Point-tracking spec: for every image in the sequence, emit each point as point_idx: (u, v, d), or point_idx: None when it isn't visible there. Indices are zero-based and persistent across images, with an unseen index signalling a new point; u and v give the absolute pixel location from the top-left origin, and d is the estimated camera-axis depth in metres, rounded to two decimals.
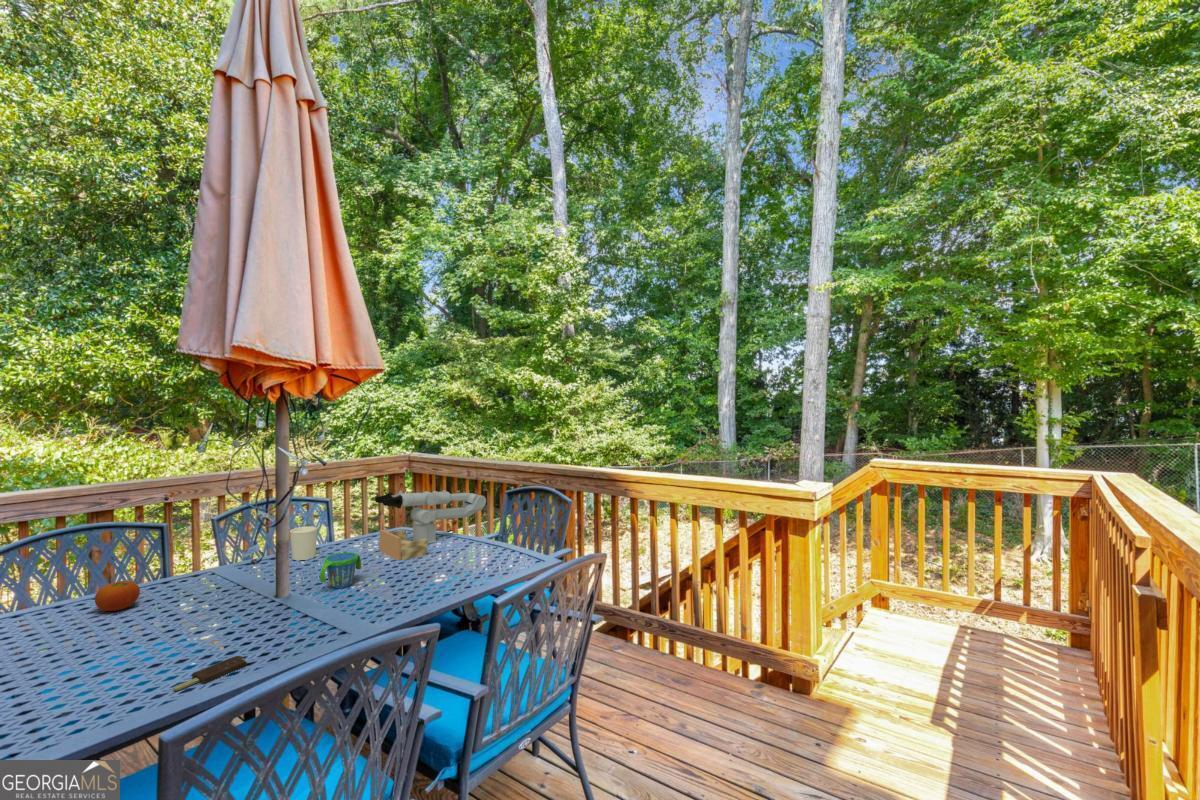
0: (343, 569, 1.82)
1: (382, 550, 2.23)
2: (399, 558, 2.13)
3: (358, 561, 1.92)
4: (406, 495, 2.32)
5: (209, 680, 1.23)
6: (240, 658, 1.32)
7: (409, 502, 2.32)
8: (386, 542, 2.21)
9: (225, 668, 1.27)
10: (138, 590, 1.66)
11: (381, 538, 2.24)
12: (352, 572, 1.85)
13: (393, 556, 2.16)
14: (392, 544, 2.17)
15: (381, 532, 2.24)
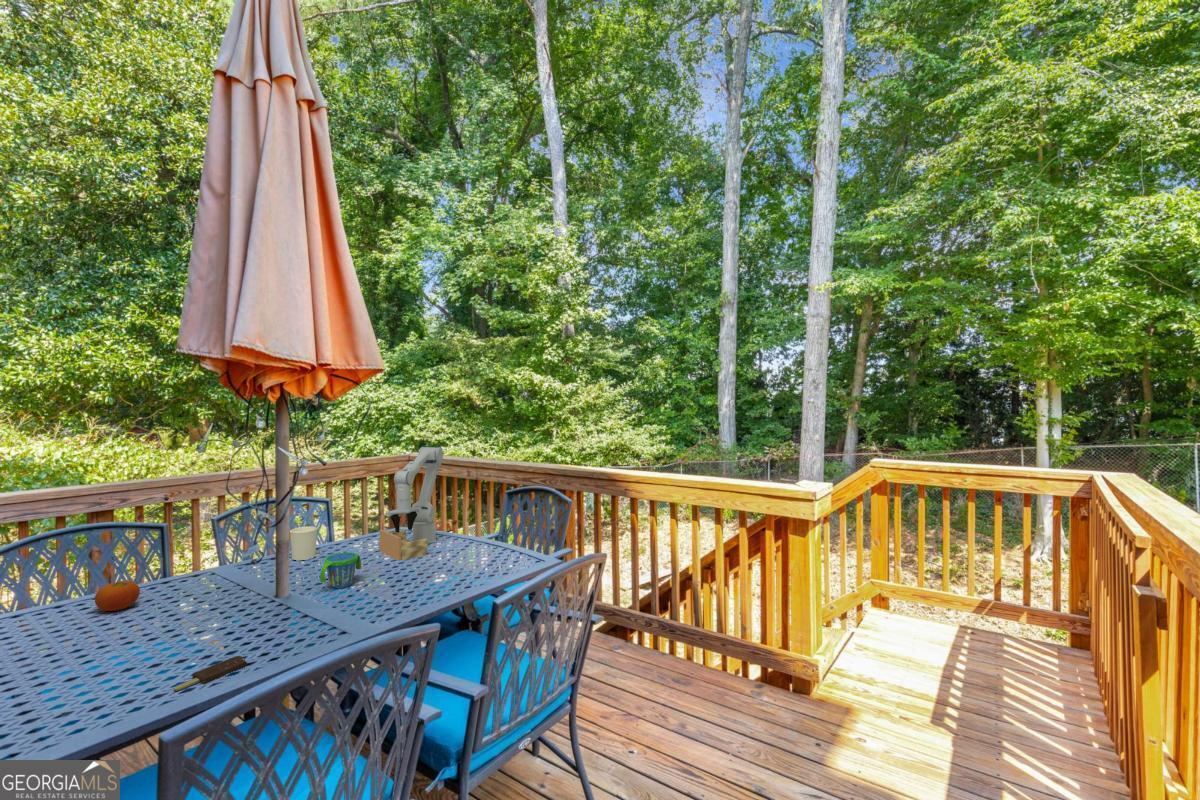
0: (343, 569, 1.82)
1: (382, 550, 2.23)
2: (399, 558, 2.13)
3: (358, 561, 1.92)
4: (410, 505, 2.23)
5: (209, 680, 1.23)
6: (240, 658, 1.32)
7: None
8: (386, 542, 2.21)
9: (225, 668, 1.27)
10: (138, 590, 1.66)
11: (381, 538, 2.24)
12: (352, 572, 1.85)
13: (393, 556, 2.16)
14: (392, 544, 2.17)
15: (381, 532, 2.24)
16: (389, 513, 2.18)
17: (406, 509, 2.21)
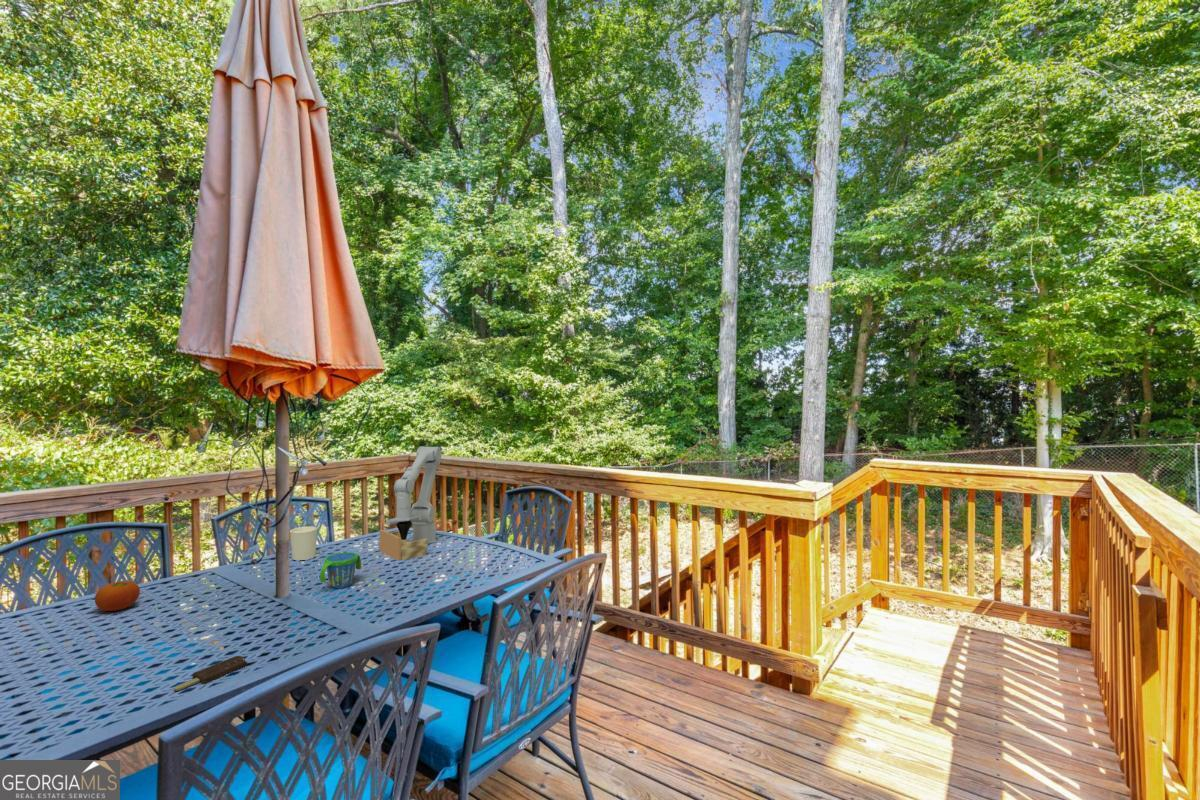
0: (343, 569, 1.82)
1: (382, 550, 2.23)
2: (399, 558, 2.13)
3: (358, 561, 1.92)
4: (410, 513, 2.23)
5: (209, 680, 1.23)
6: (240, 658, 1.32)
7: None
8: (386, 542, 2.21)
9: (225, 668, 1.27)
10: (138, 590, 1.66)
11: (381, 538, 2.24)
12: (352, 572, 1.85)
13: (393, 556, 2.16)
14: (392, 544, 2.17)
15: (381, 532, 2.24)
16: (389, 521, 2.18)
17: (406, 517, 2.22)
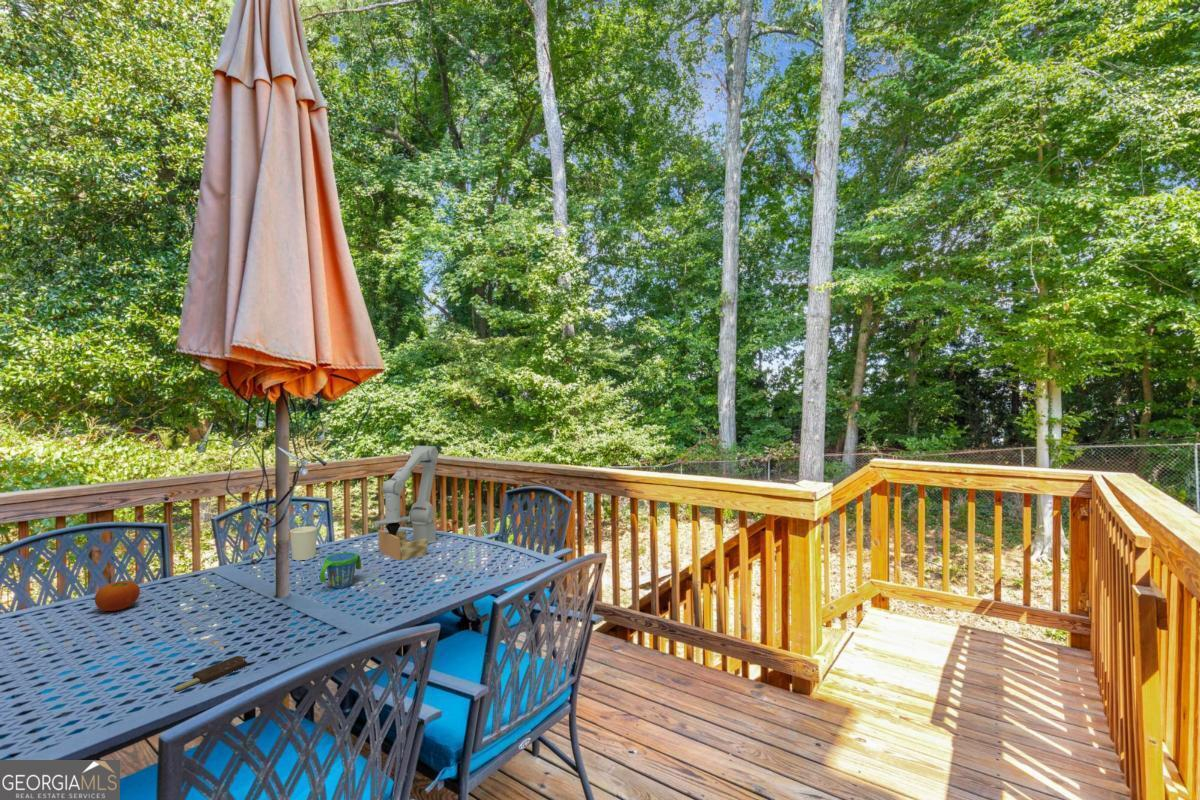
0: (343, 569, 1.82)
1: (382, 550, 2.23)
2: (399, 558, 2.13)
3: (358, 561, 1.92)
4: (399, 515, 2.20)
5: (210, 680, 1.23)
6: (240, 658, 1.32)
7: None
8: (385, 542, 2.20)
9: (226, 668, 1.27)
10: (138, 590, 1.66)
11: (380, 538, 2.24)
12: (352, 572, 1.85)
13: (393, 556, 2.16)
14: (391, 544, 2.16)
15: (380, 532, 2.24)
16: (377, 523, 2.15)
17: (395, 519, 2.18)
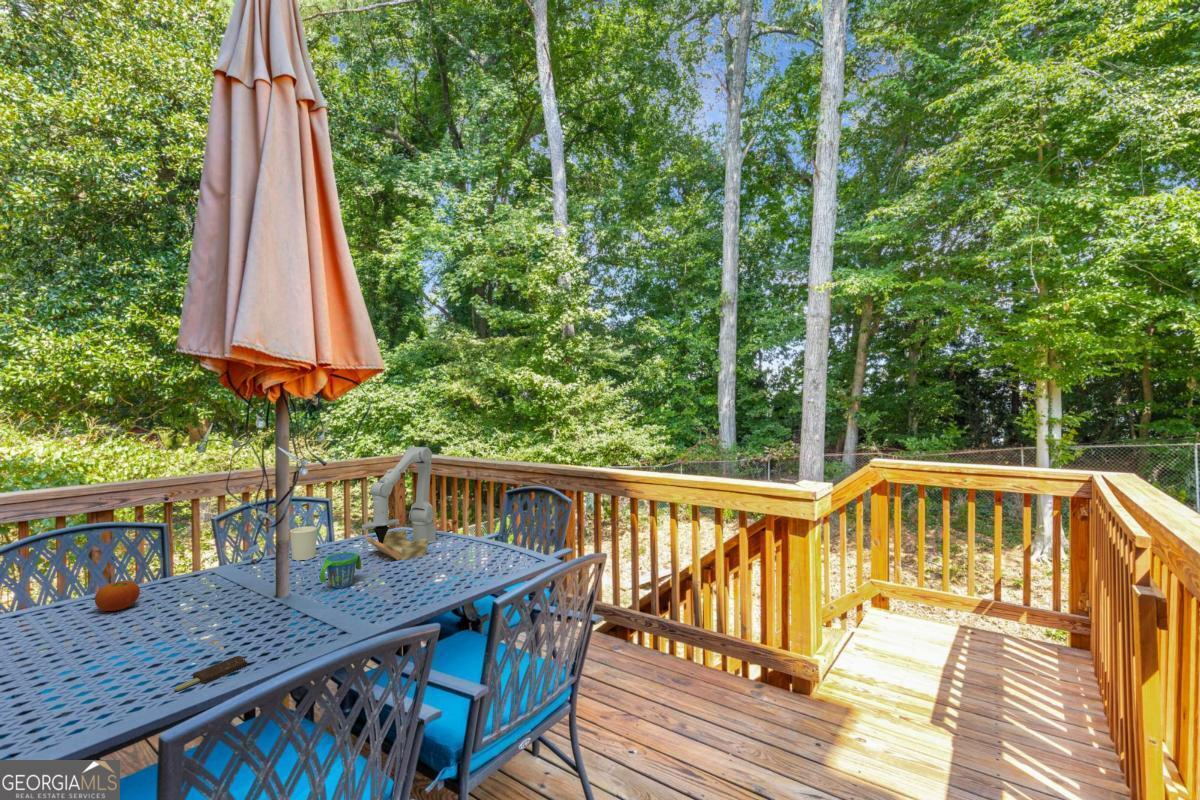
0: (343, 569, 1.82)
1: (381, 551, 2.23)
2: (398, 558, 2.13)
3: (358, 561, 1.92)
4: (387, 518, 2.16)
5: (210, 680, 1.23)
6: (241, 658, 1.32)
7: None
8: (378, 547, 2.18)
9: (226, 668, 1.27)
10: (138, 590, 1.66)
11: (372, 544, 2.21)
12: (352, 572, 1.85)
13: (392, 557, 2.16)
14: (383, 549, 2.14)
15: (367, 540, 2.20)
16: (365, 526, 2.11)
17: (383, 522, 2.15)
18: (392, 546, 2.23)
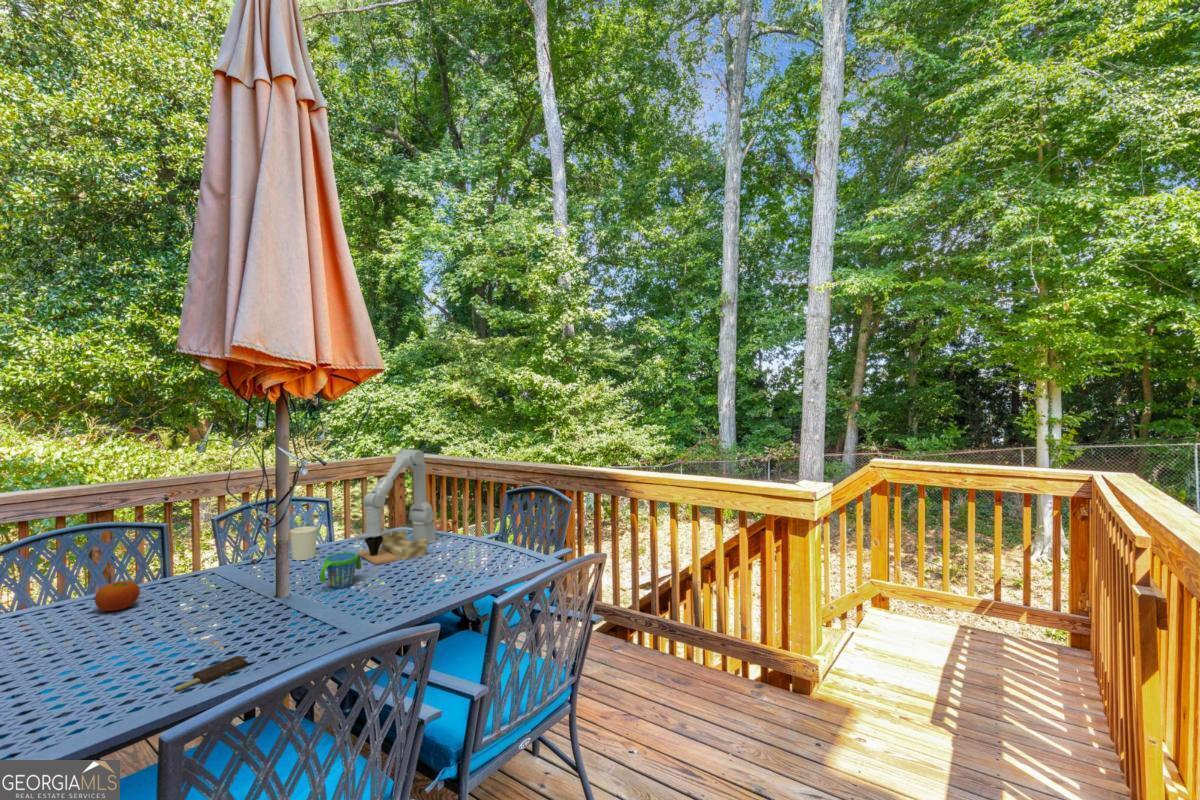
0: (343, 569, 1.82)
1: None
2: (396, 559, 2.12)
3: (358, 561, 1.92)
4: (380, 528, 2.14)
5: (210, 680, 1.23)
6: (241, 658, 1.32)
7: None
8: None
9: (226, 668, 1.27)
10: (138, 590, 1.66)
11: None
12: (352, 572, 1.85)
13: None
14: None
15: None
16: (358, 537, 2.09)
17: (376, 533, 2.13)
18: (392, 546, 2.23)
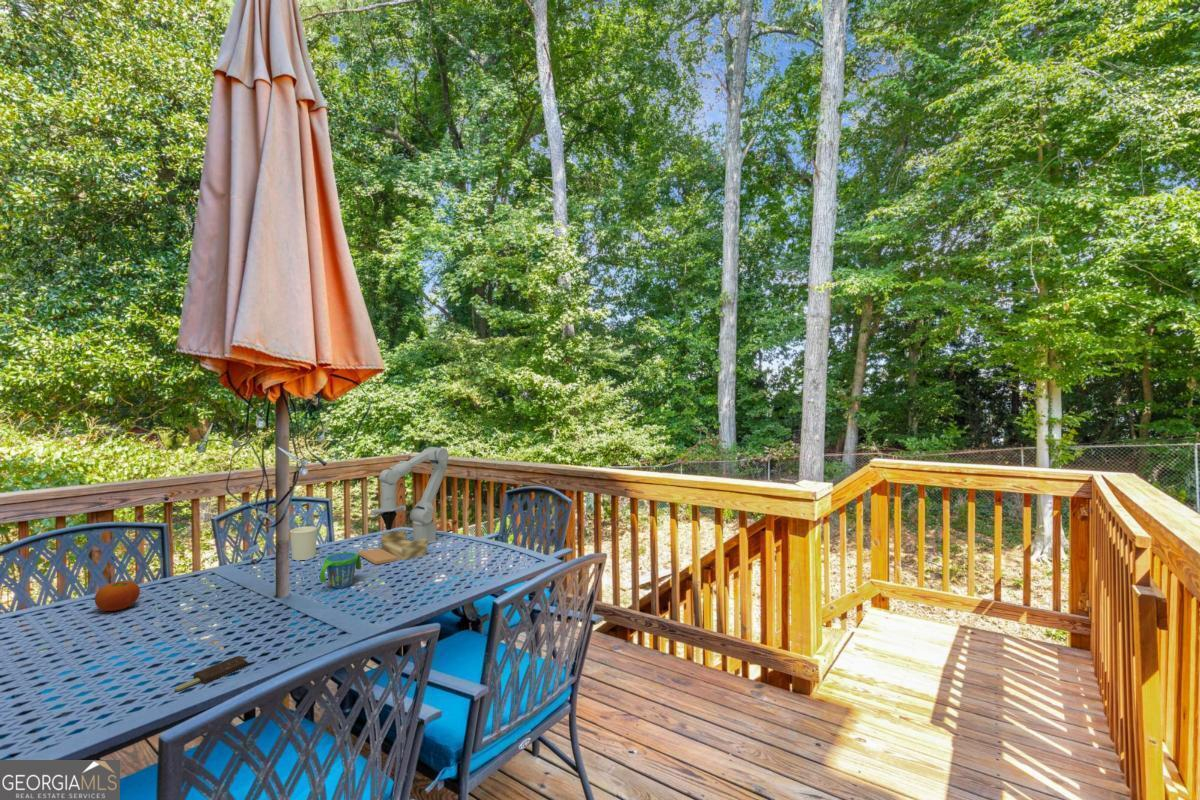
0: (343, 569, 1.82)
1: None
2: (396, 559, 2.12)
3: (358, 561, 1.92)
4: (394, 504, 2.26)
5: (210, 680, 1.23)
6: (241, 658, 1.32)
7: None
8: None
9: (226, 668, 1.27)
10: (138, 590, 1.66)
11: None
12: (352, 572, 1.85)
13: None
14: None
15: None
16: (374, 512, 2.21)
17: (391, 508, 2.24)
18: (392, 546, 2.23)
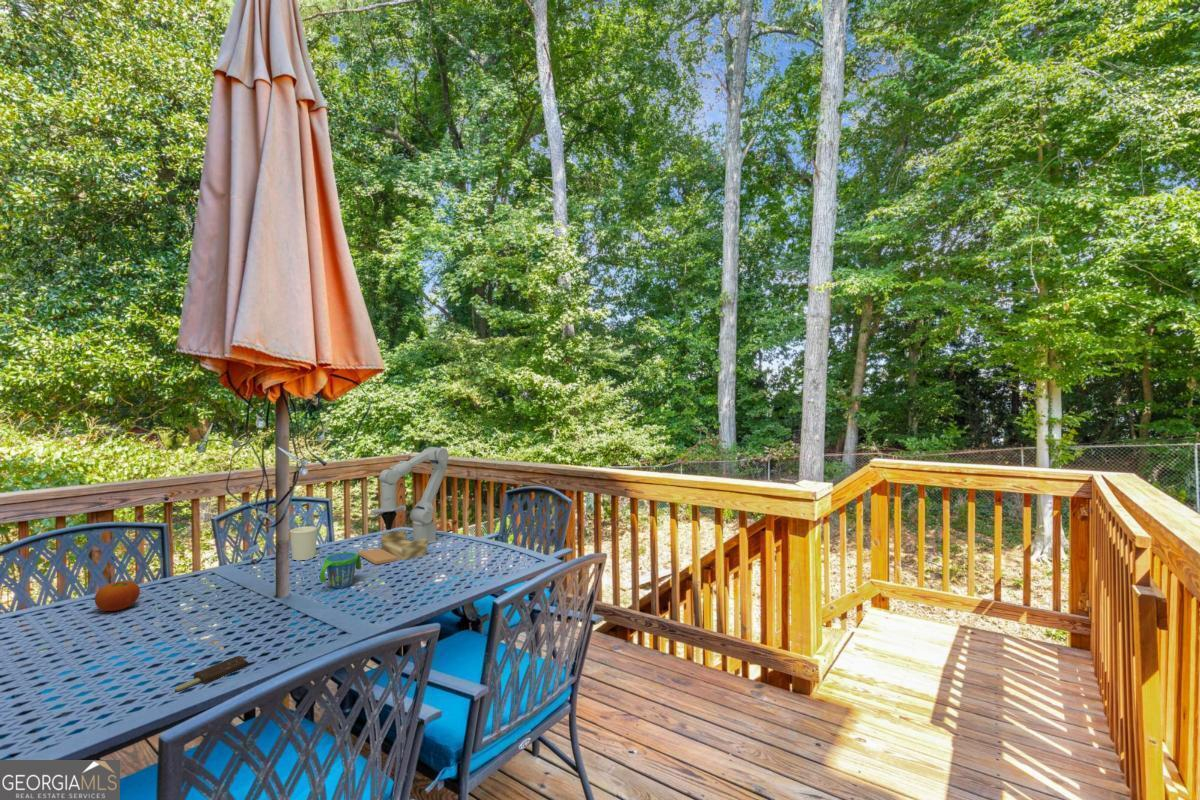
0: (343, 569, 1.82)
1: None
2: (396, 559, 2.12)
3: (358, 561, 1.92)
4: (394, 504, 2.26)
5: (211, 680, 1.23)
6: (241, 658, 1.32)
7: None
8: None
9: (227, 668, 1.27)
10: (138, 590, 1.66)
11: None
12: (352, 572, 1.85)
13: None
14: None
15: None
16: (374, 512, 2.21)
17: (391, 508, 2.24)
18: (392, 546, 2.23)
